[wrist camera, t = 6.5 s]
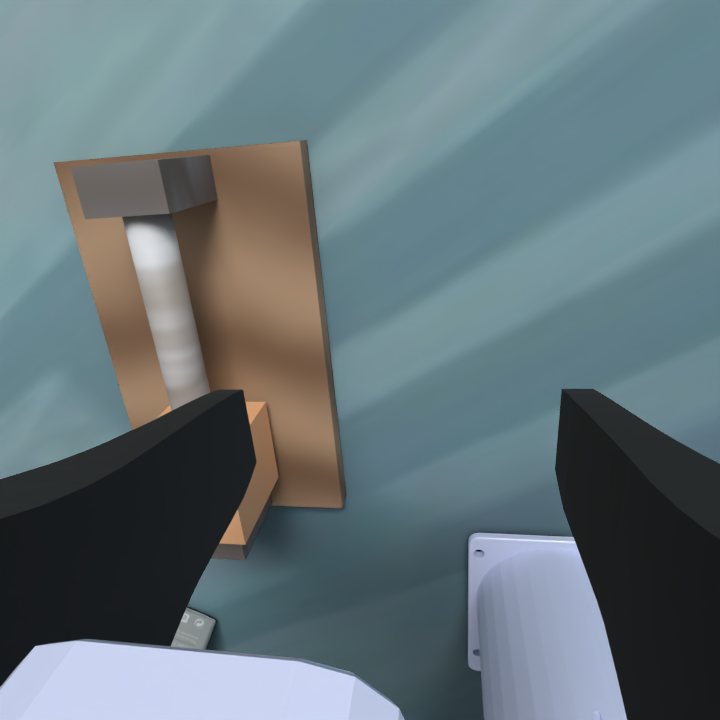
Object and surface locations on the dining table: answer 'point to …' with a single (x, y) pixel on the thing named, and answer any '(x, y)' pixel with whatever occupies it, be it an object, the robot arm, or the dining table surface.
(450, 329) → the dining table surface
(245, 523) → the slider
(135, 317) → the rail
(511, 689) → the robot arm
